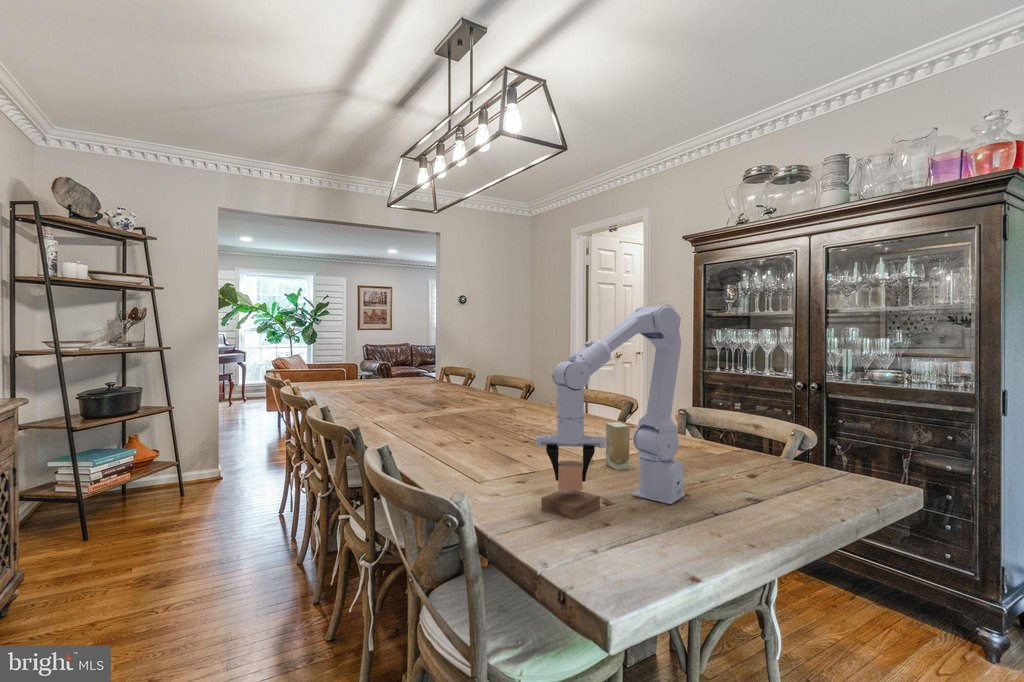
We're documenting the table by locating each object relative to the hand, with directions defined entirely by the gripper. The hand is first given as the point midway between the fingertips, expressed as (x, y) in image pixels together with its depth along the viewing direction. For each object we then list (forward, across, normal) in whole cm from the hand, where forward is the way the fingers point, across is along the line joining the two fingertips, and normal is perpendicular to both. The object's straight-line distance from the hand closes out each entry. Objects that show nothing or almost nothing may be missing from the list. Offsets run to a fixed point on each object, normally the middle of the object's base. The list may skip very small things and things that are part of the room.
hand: (570, 479), depth 106 cm
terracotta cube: (+2, 0, 0) cm, 2 cm away
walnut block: (+7, 0, 0) cm, 7 cm away
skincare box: (+6, -12, -35) cm, 38 cm away
